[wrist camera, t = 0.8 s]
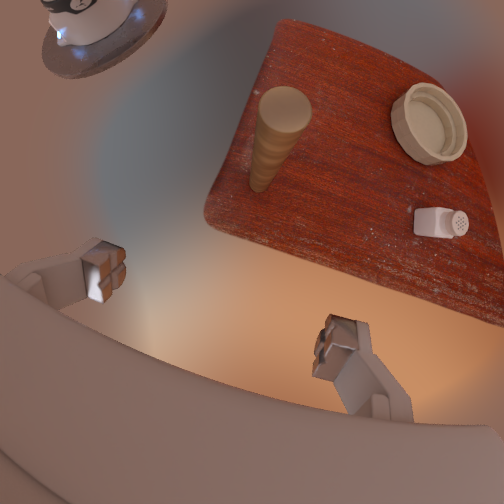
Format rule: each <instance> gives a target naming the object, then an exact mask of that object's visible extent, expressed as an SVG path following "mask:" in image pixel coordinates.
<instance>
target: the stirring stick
mask: <svg viewBox="0 0 504 504" xmlns="http://www.w3.org/2000/svg"><path fill="white" fill-rule="evenodd" d="M311 117H312V107H311V104H310V102H309V100H308V98H307V97H306V96H305V95H304V94H303V93H302V92H301V91H299V90H297V89H295V88H293V87H288V86H278V87H274V88H272V89H270V90H268V91H267V92H265V93H264V94H263V96H262V97H261V99H260V101H259V105H258V113H257V121H256V130H255V138H254V146H253V154H252V163H251V171H250V180H249V185H250V187H251V189H252V190H253V191H255V192H263V191H265V190H266V189H267V188H268V186H269V185H270V183H271V182H272V180H273V178H274V177H275V175H276V174H277V172H278V170H279V169H280V167H281V166H282V164H283V163H284V161H285V159H286V158H287V156H288V155H289V153H290V152H291V150H292V149H293V147H294V145H295V144H296V142H297V141H298V139H299V138H300V136H301V135H302V133H303V131H304V130H305V128H306V127H307V125H308V124H309V122H310V120H311Z"/></svg>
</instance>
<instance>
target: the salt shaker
mask: <svg viewBox="0 0 504 504" xmlns="http://www.w3.org/2000/svg"><path fill="white" fill-rule="evenodd" d="M468 226H469V223H468V218H467V216H466V214H465V213H464V212H462V211H453V210H451V209H447V208H440V207H434V208H419V209H416V210H415V214H414V233H415V234H416V235H420V236H430V237H441V238H453V236H462V235H464V234H465V233H466V232H467V230H468Z"/></svg>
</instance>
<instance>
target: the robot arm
mask: <svg viewBox="0 0 504 504" xmlns="http://www.w3.org/2000/svg"><path fill="white" fill-rule="evenodd" d="M137 1H138V0H41V2H42V4H43V5H44V7H45V8H46V9H48V10H49V11H50V15H49V23H50V24H51V26H52V27H53V28H54V29H55V30H56V31H57V44H58V45H59V46H60V47H62V46H66V45H76V46H84V45H89V44H92V43H95V42H97V41H99V40H101V39H103V38H105V37H107V36H108V35H110V34H111V33H112V32H114V31H115V30H116V29H117V28H118V27H120V26H121V25H122V23H123V22H124V21H125V20H126V19H127V17H128V16H129V14H130V12H131V10H132V7H133V6H134V4H135V3H136V2H137ZM125 258H126V254H125V250H124V248H122V247H119V246H117V245H114V244H111V243H109V242H106V241H103V240H101V239H98V238H91V239H90V240H88V241H87V242H86V243H84V244H83V245H82V246H80V247H79V248H77V249H76V250H75V251H73V252H72V253H71V254H68V253H65V254H61V255H56V256H52V257H47V258H43V259H39V260H34V261H30V262H26V263H21V264H20V265H18V266H17V267H16V268H14V269H13V270H12V271H10V272H9V273H8V274H7V275H5V276H2V275H1V274H0V504H504V442H503V440H502V439H501V438H500V437H499V435H498V434H497V433H496V432H495V431H494V430H493V429H492V428H491V427H490V426H487V425H443V424H442V425H441V424H424V423H414V419H413V411H412V404H411V399H410V397H409V396H408V394H407V393H406V392H405V390H404V389H403V388H402V387H401V385H400V384H399V383H398V382H397V380H396V379H395V378H394V376H393V375H392V374H391V373H390V372H389V370H388V369H387V368H386V366H385V365H384V364H383V363H382V361H381V360H380V359H379V358H378V356H377V355H375V354H373V352H372V345H371V337H370V330H369V325H368V323H365V322H361V321H357V320H351V319H347V318H344V317H340V316H336V315H332V314H329V316H328V317H327V319H326V321H325V328H324V329H322V330H321V331H320V333H319V335H318V338H317V341H316V344H315V350H314V355H315V356H316V359H315V360H314V363H313V371H312V372H313V373H312V376H313V377H316V378H320V379H324V380H328V381H332V382H333V383H334V386H335V388H336V390H337V392H338V394H339V396H340V397H341V400H342V402H343V404H344V406H345V408H346V410H347V412H348V414H343V413H338V412H333V411H328V410H323V409H318V408H313V407H309V406H304V405H300V404H295V403H291V402H287V401H283V400H279V399H275V398H271V397H268V396H264V395H260V394H257V393H253V392H250V391H246V390H243V389H240V388H237V387H233V386H230V385H227V384H224V383H221V382H218V381H215V380H212V379H209V378H206V377H203V376H201V375H198V374H195V373H192V372H190V371H187V370H184V369H181V368H179V367H176V366H174V365H171V364H169V363H166V362H164V361H161V360H159V359H156V358H154V357H151V356H149V355H147V354H144V353H142V352H139V351H137V350H135V349H133V348H131V347H128V346H126V345H124V344H122V343H120V342H118V341H116V340H113V339H111V338H109V337H107V336H105V335H103V334H101V333H99V332H97V331H95V330H93V329H91V328H89V327H87V326H85V325H83V324H82V323H79V322H78V321H76V320H74V319H72V318H70V317H69V316H67V315H65V314H63V313H61V312H60V311H58V310H60V309H62V308H65V307H67V306H69V305H72V304H74V303H76V302H79V301H81V300H83V299H86V298H87V297H88V298H91V299H93V300H95V301H97V302H100V303H102V304H104V303H105V302H106V300H108V299H109V298H110V297H111V295H112V290H114V289H118V288H119V287H120V286H121V285H122V283H123V281H124V279H125V276H126V266H125V265H124V263H123V260H124V259H125Z"/></svg>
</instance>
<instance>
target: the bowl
mask: <svg viewBox="0 0 504 504" xmlns="http://www.w3.org/2000/svg"><path fill="white" fill-rule="evenodd" d="M391 122H392V128H393V131H394V133H395V136H396V139H397V141H398V142H399V143H400V145H401V146H402V148H403V149H404V151H405V152H406V153H407V154H408V155H410V156H411V157H412V158H413V159H414V160H415V161H418V162H420V163H422V164H425V165H439V164H443V163H446V162H450V161H453V160H455V159H456V158H458V157H460V156H461V154H462V153H463V151H464V149H465V148H466V143H467V129H466V123H465V120H464V118H463V115H462V112H461V110H460V109H459V107H458V106H457V104H456V103H455V101H454V100H453V99H452V98H451V97H450V96H449V95H448V94H447V93H446V92H445V91H444V90H443V89H441V88H439V87H437V86H435V85H433V84H428V83H419V84H416V85H413V86H412V87H410V88H409V89H408V90H406V91H405V92H404V93H403V94H401V95H400V96H399V97H398V98H397V99H396V101H395V102H394V103H393V107H392V111H391Z"/></svg>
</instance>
